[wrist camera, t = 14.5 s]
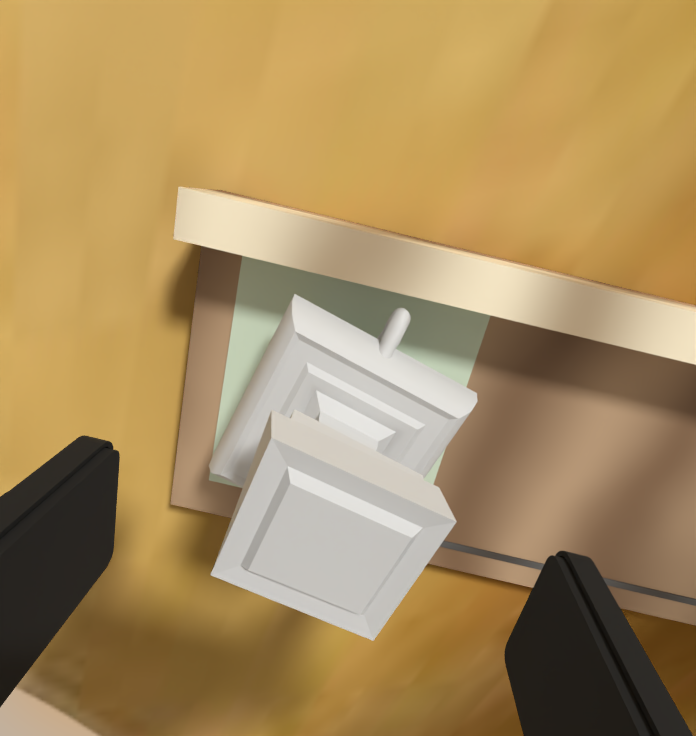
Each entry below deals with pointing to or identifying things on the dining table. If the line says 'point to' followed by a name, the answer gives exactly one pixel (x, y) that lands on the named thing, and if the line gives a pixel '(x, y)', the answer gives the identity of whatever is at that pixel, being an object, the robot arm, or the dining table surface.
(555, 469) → the brown piece
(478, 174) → the dining table surface
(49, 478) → the robot arm
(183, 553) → the dining table surface
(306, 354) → the stamp
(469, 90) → the dining table surface
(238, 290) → the end mark
